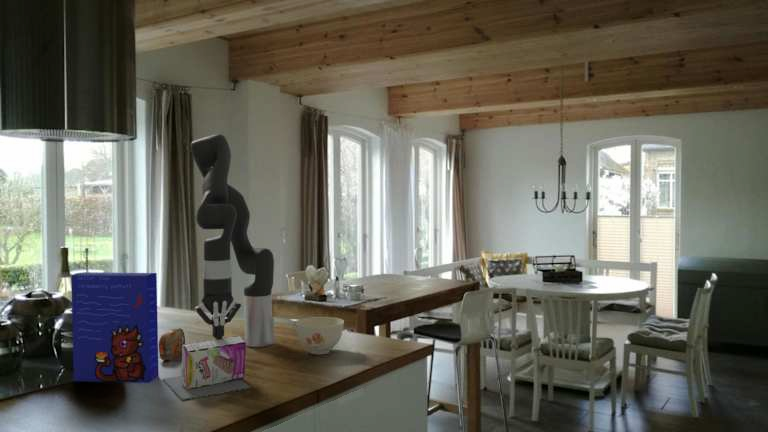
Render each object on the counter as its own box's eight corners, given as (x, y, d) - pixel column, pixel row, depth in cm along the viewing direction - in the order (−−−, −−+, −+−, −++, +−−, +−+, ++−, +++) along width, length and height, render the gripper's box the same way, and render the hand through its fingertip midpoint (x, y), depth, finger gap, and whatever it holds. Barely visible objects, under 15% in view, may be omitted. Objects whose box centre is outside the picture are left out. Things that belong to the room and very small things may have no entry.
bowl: (285, 354, 199) (285, 324, 199) (313, 343, 213) (313, 315, 213) (327, 361, 192) (326, 329, 191) (353, 349, 206) (353, 319, 205)
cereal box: (158, 376, 176) (156, 272, 175) (148, 383, 170) (146, 275, 169) (86, 374, 179) (83, 271, 177) (73, 381, 173) (71, 274, 171)
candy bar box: (245, 379, 172) (186, 391, 163) (238, 371, 176) (180, 383, 167) (246, 341, 170) (186, 351, 161) (240, 334, 174) (181, 344, 165)
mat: (225, 370, 182) (225, 368, 182) (250, 388, 166) (250, 386, 166) (162, 380, 173) (162, 378, 173) (181, 400, 156) (181, 398, 156)
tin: (167, 363, 190) (166, 336, 189) (157, 363, 190) (156, 336, 190) (186, 351, 205) (185, 325, 204) (177, 350, 205) (176, 325, 205)
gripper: (236, 272, 177) (236, 333, 177) (189, 276, 169) (190, 339, 170) (245, 275, 170) (246, 338, 171) (197, 279, 163) (198, 344, 164)
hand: (218, 338), depth 170 cm, fingers closed
